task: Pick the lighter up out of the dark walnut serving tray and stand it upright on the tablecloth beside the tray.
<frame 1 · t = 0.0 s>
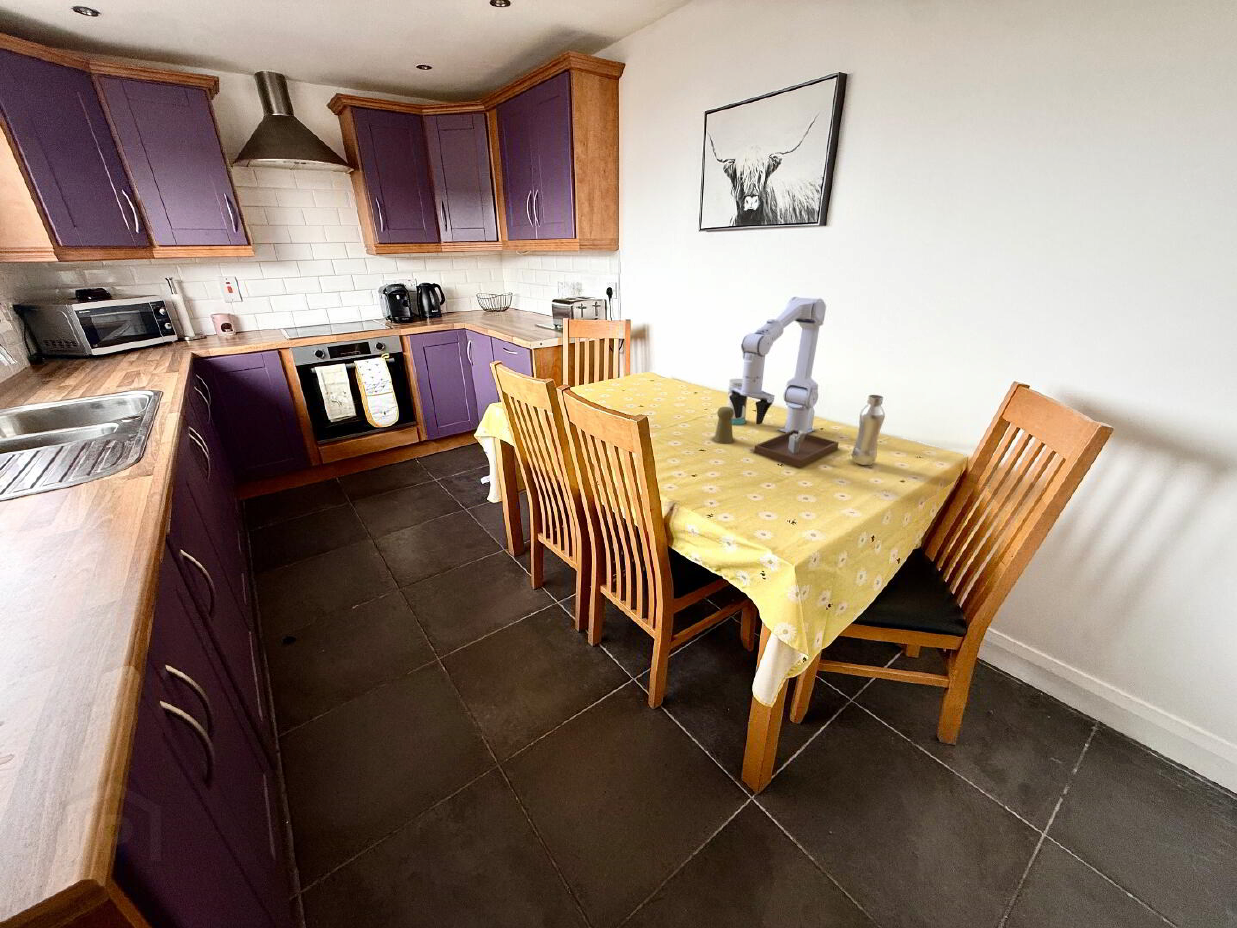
hand: (748, 420, 150), 10 cm above the table, tool pointing down, fingers open, 7 cm apart
tray: (795, 451, 154), on the table
cup: (735, 422, 181), on the table
pawn: (723, 440, 164), on the table
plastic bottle: (862, 463, 145), on the table
lighter: (795, 453, 152), resting on tray
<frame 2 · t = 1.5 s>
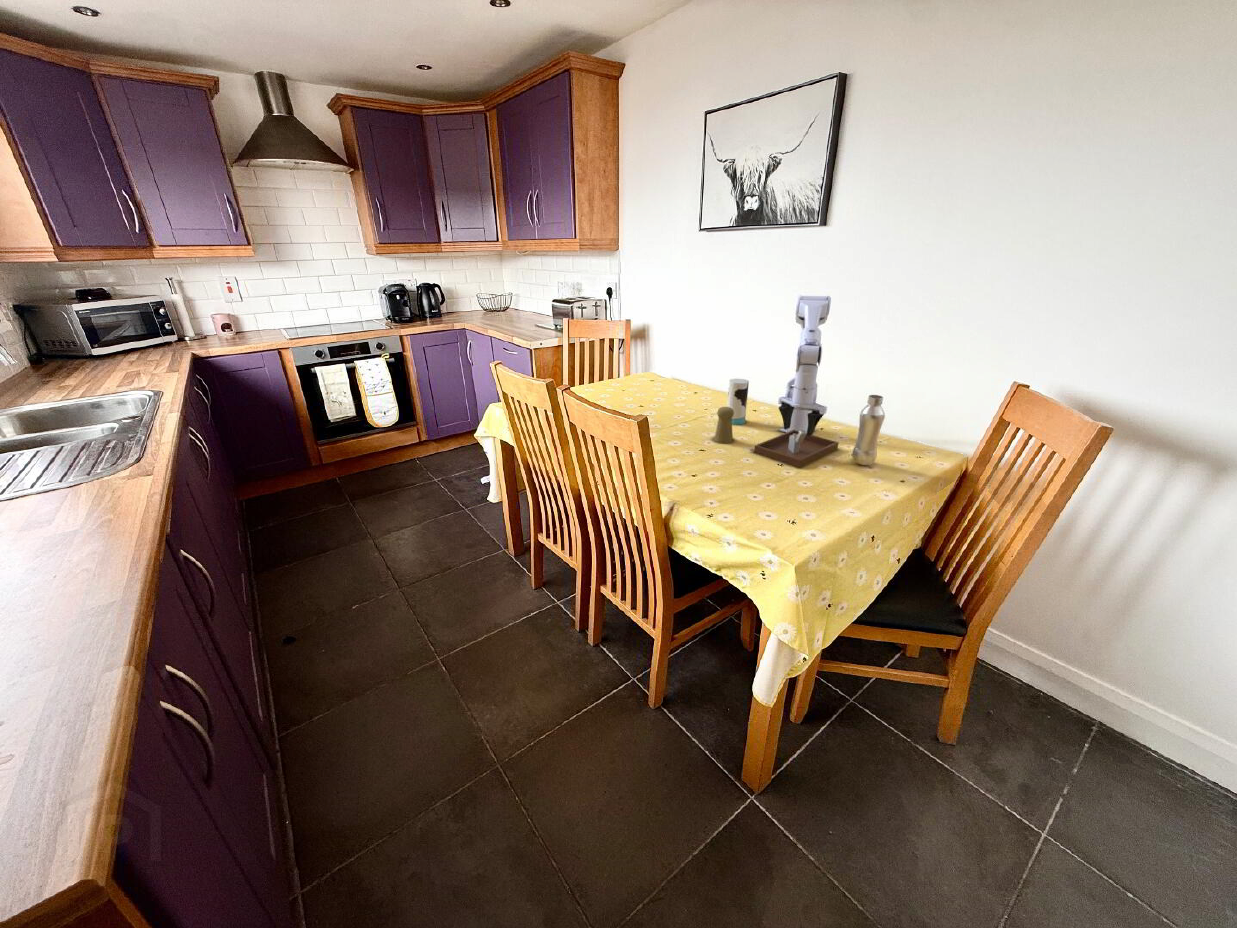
hand: (798, 431, 150), 7 cm above the table, tool pointing down, fingers open, 7 cm apart
nothing on the table moved.
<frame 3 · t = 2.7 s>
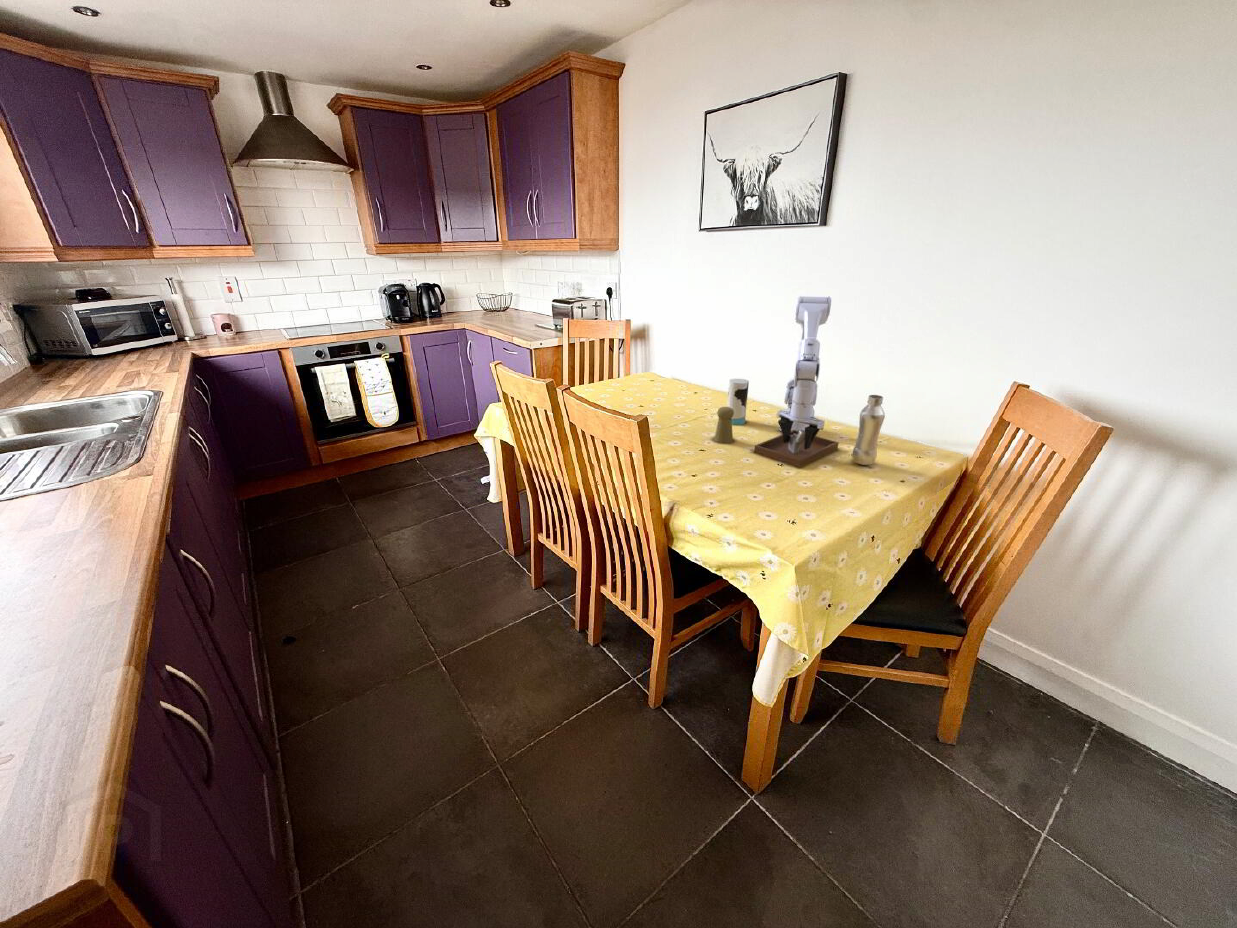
hand: (796, 445, 151), 3 cm above the table, tool pointing down, fingers closed on lighter, 6 cm apart
lighter: (795, 453, 152), resting on tray, touching gripper
everything else where it was.
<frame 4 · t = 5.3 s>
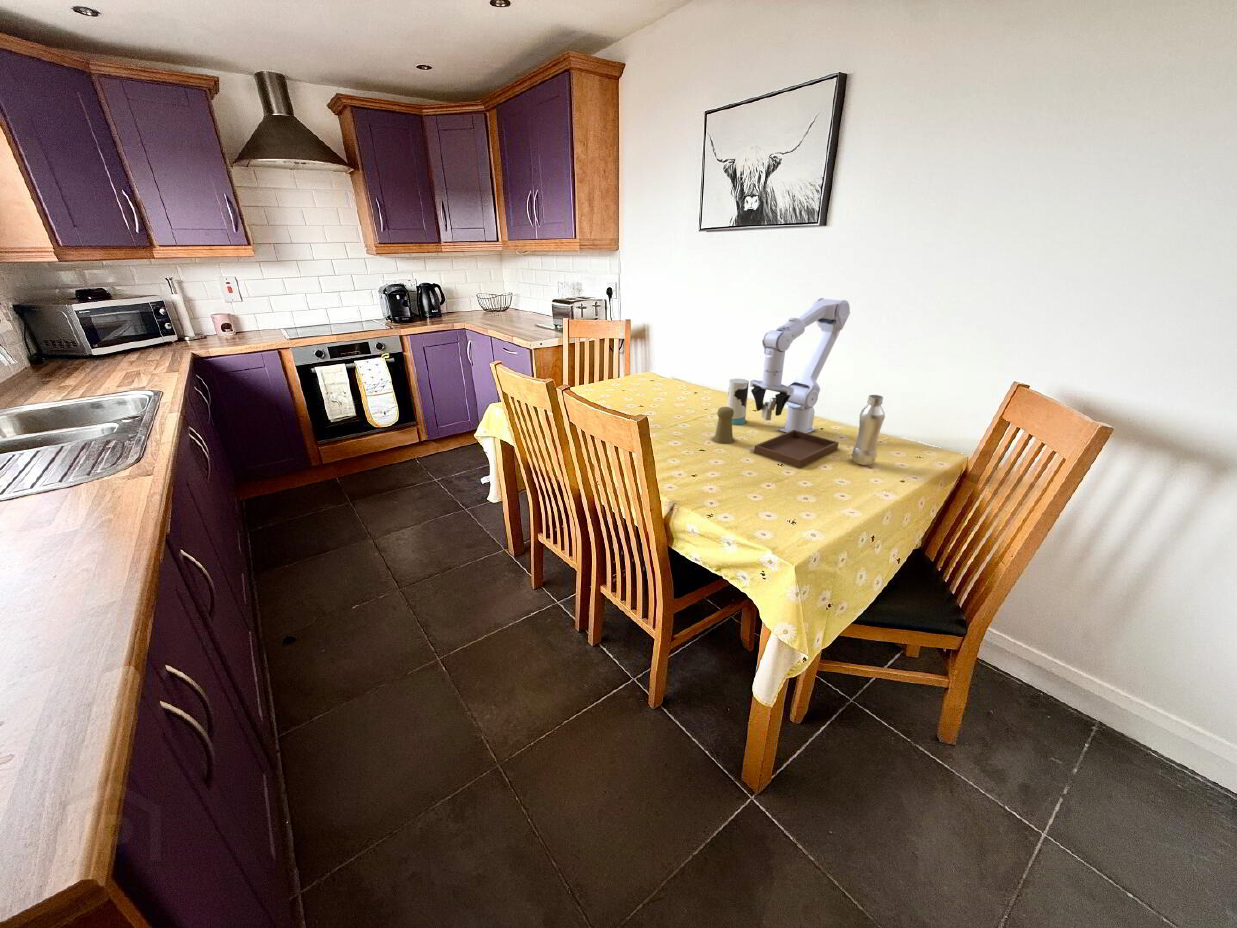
hand: (768, 412, 160), 9 cm above the table, tool pointing down, fingers closed on lighter, 6 cm apart
lighter: (767, 420, 161), point 7 cm above the table, touching gripper
everything else where it was.
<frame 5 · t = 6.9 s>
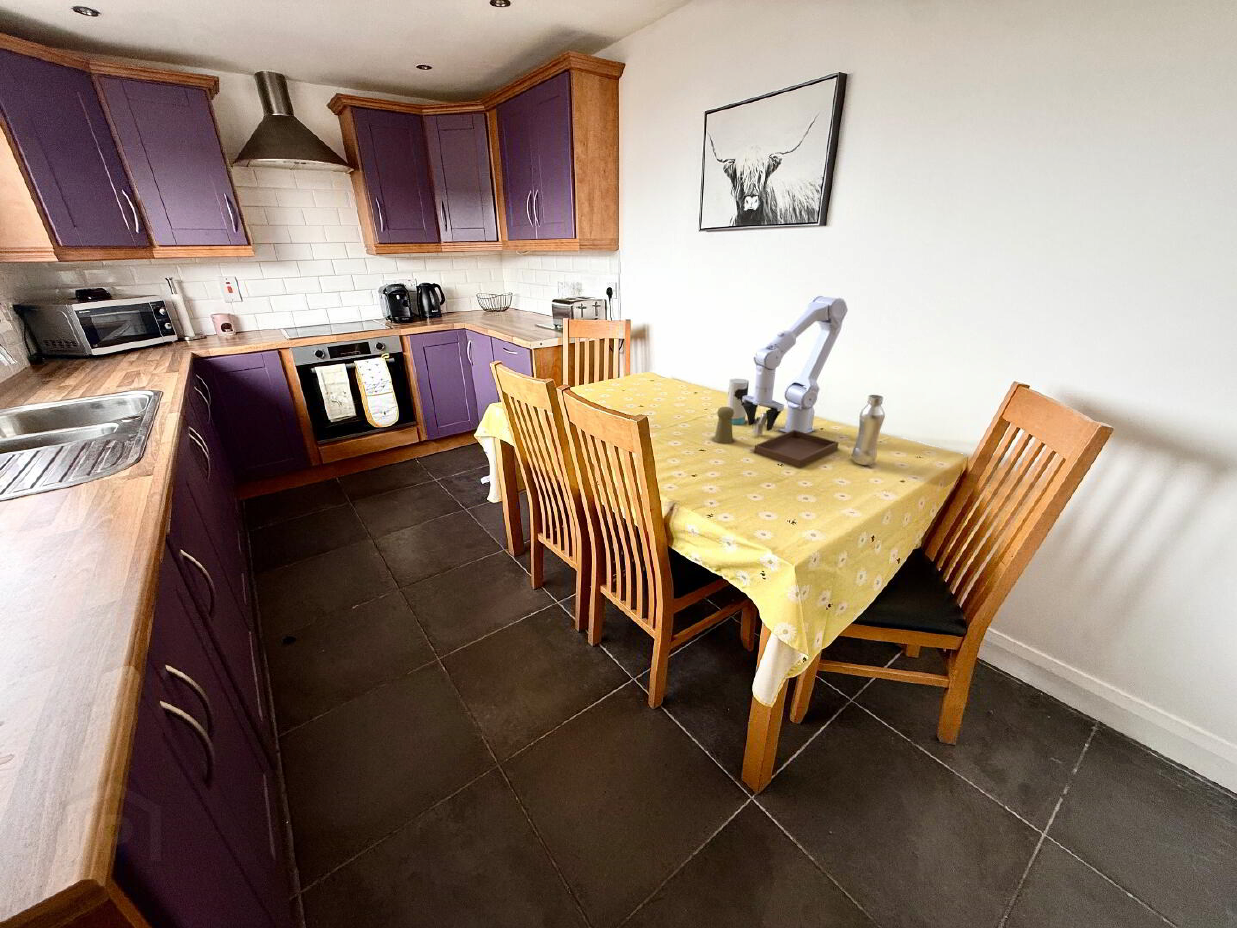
hand: (759, 427, 165), 3 cm above the table, tool pointing down, fingers closed on lighter, 6 cm apart
lighter: (759, 434, 166), point 1 cm above the table, touching gripper
everything else where it was.
when the fingers open (2 cm above the table, at t = 7.9 s): lighter stays where it is, on the table.
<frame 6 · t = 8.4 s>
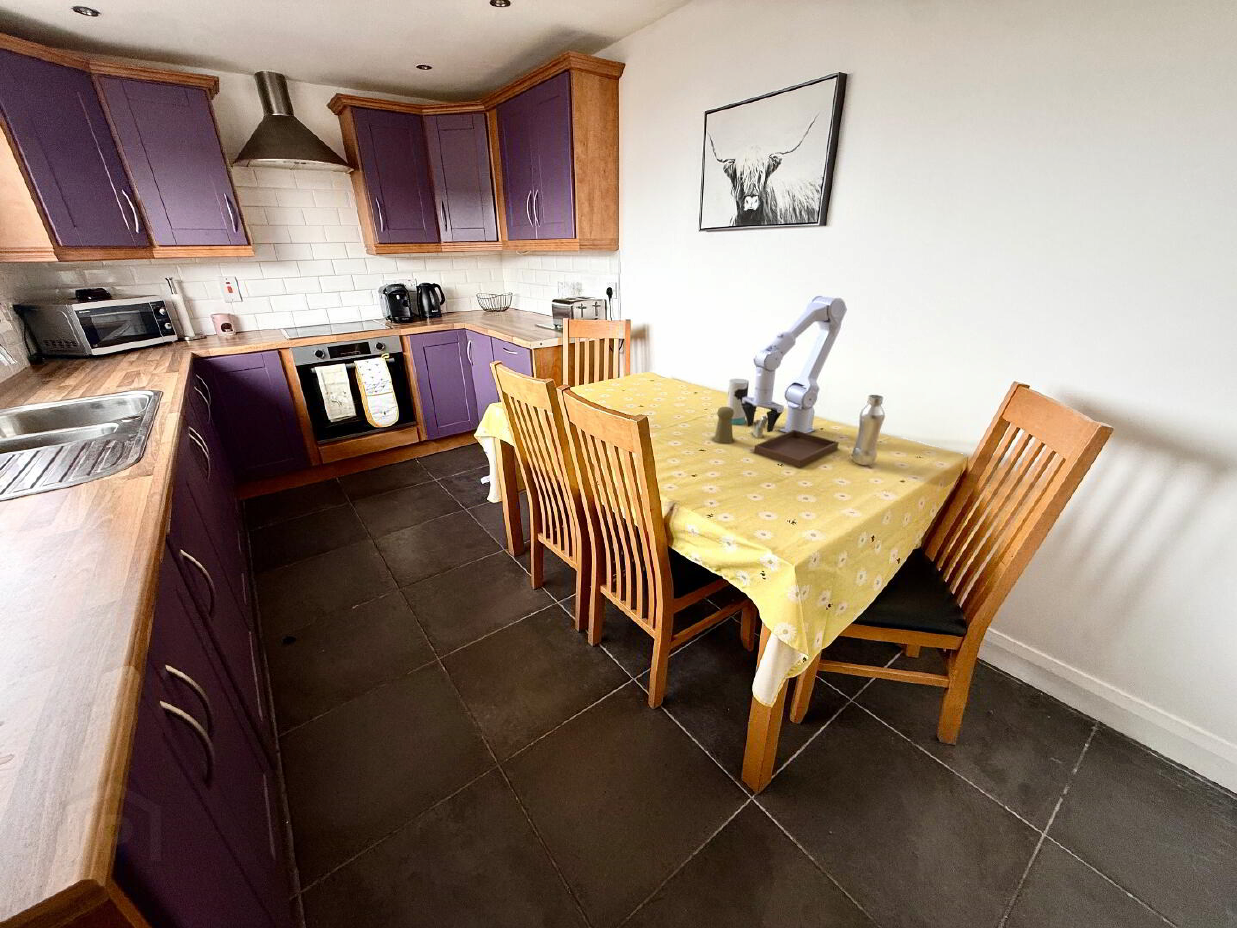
hand: (759, 428, 165), 3 cm above the table, tool pointing down, fingers open, 7 cm apart
lighter: (758, 437, 166), on the table
everything else where it was.
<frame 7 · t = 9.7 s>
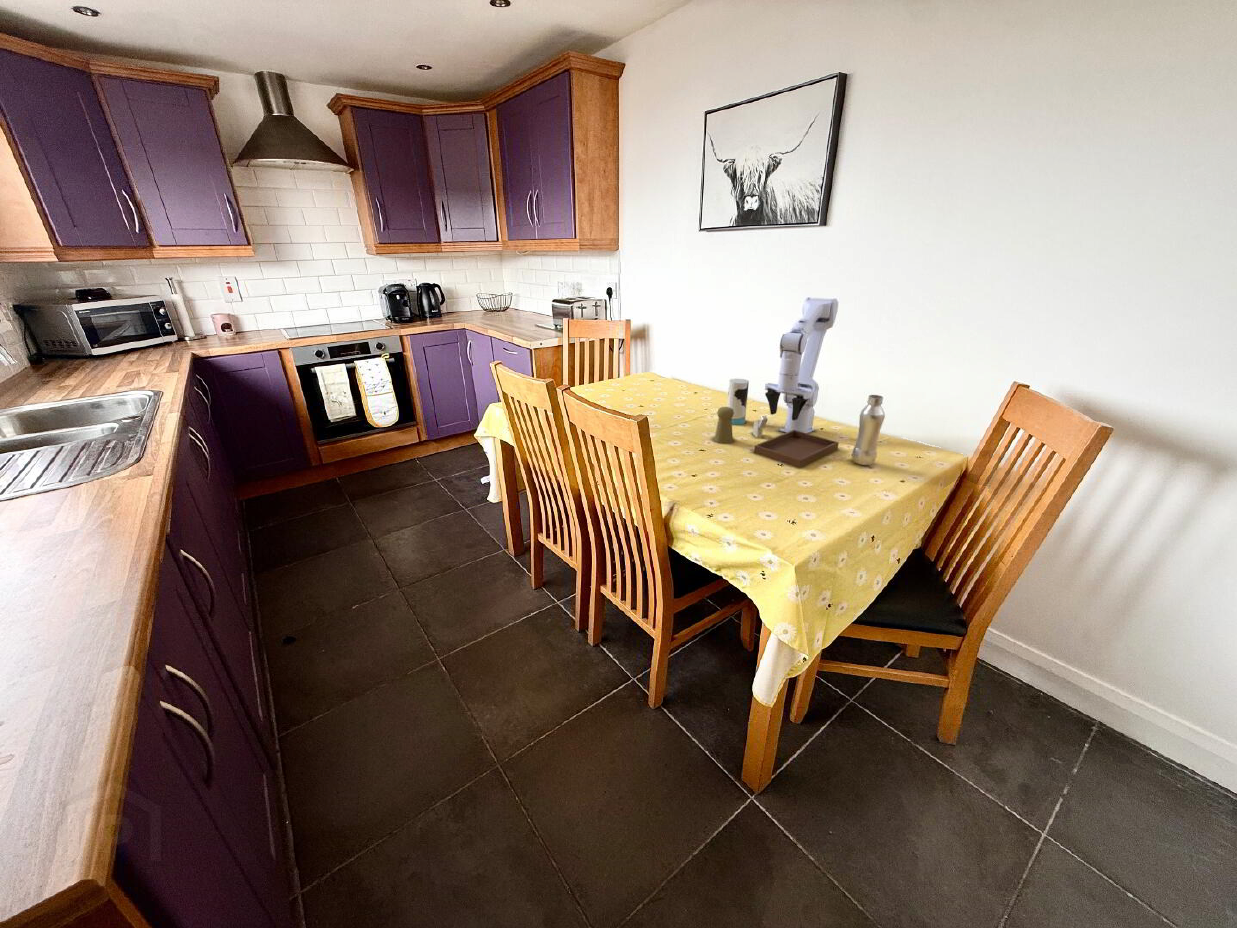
hand: (783, 416, 156), 9 cm above the table, tool pointing down, fingers open, 7 cm apart
nothing on the table moved.
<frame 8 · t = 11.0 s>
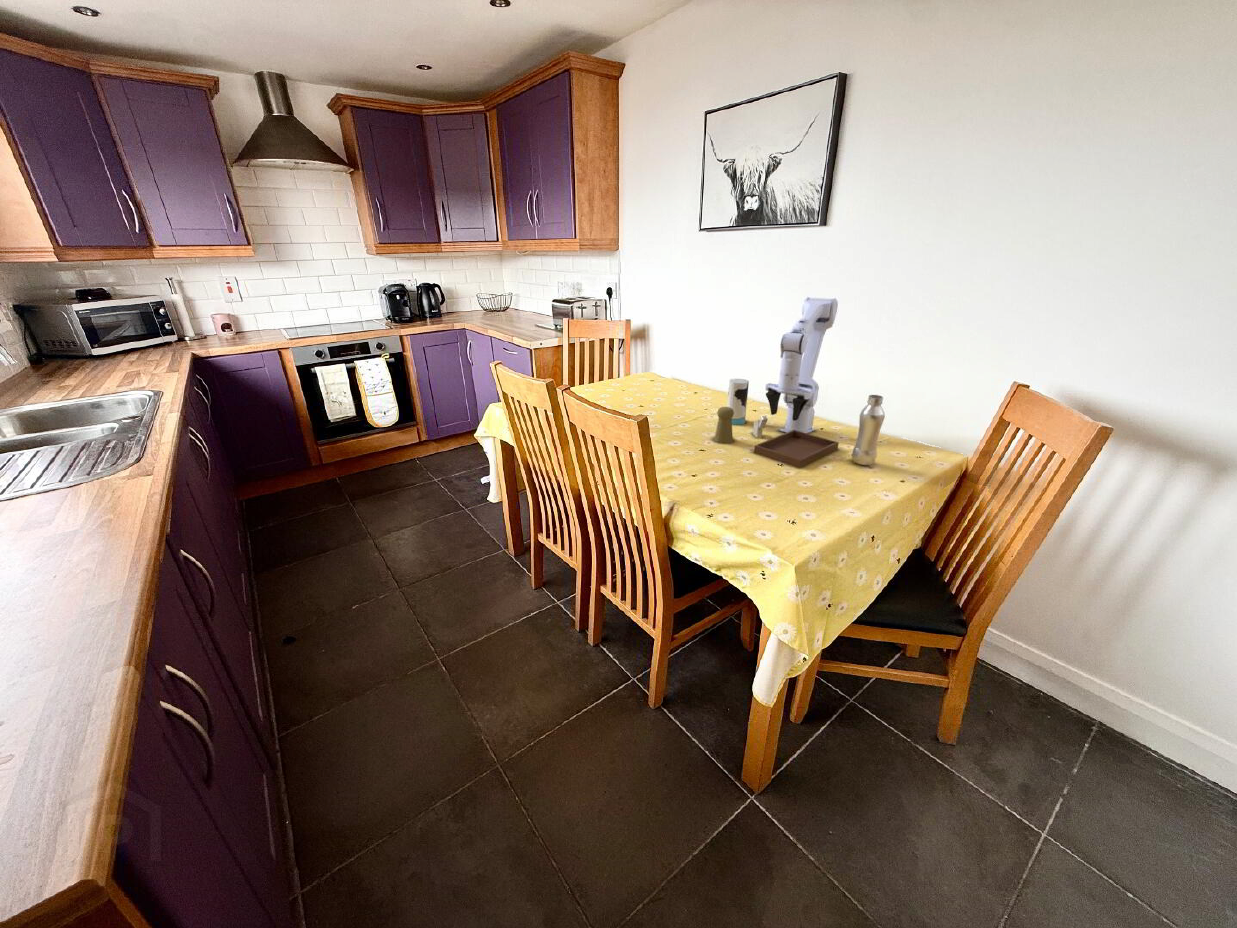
hand: (784, 416, 155), 9 cm above the table, tool pointing down, fingers open, 7 cm apart
nothing on the table moved.
at the end: lighter inside the target area (0.3 cm from its centre), on the table; lighter touching table; lighter tilted 0° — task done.
